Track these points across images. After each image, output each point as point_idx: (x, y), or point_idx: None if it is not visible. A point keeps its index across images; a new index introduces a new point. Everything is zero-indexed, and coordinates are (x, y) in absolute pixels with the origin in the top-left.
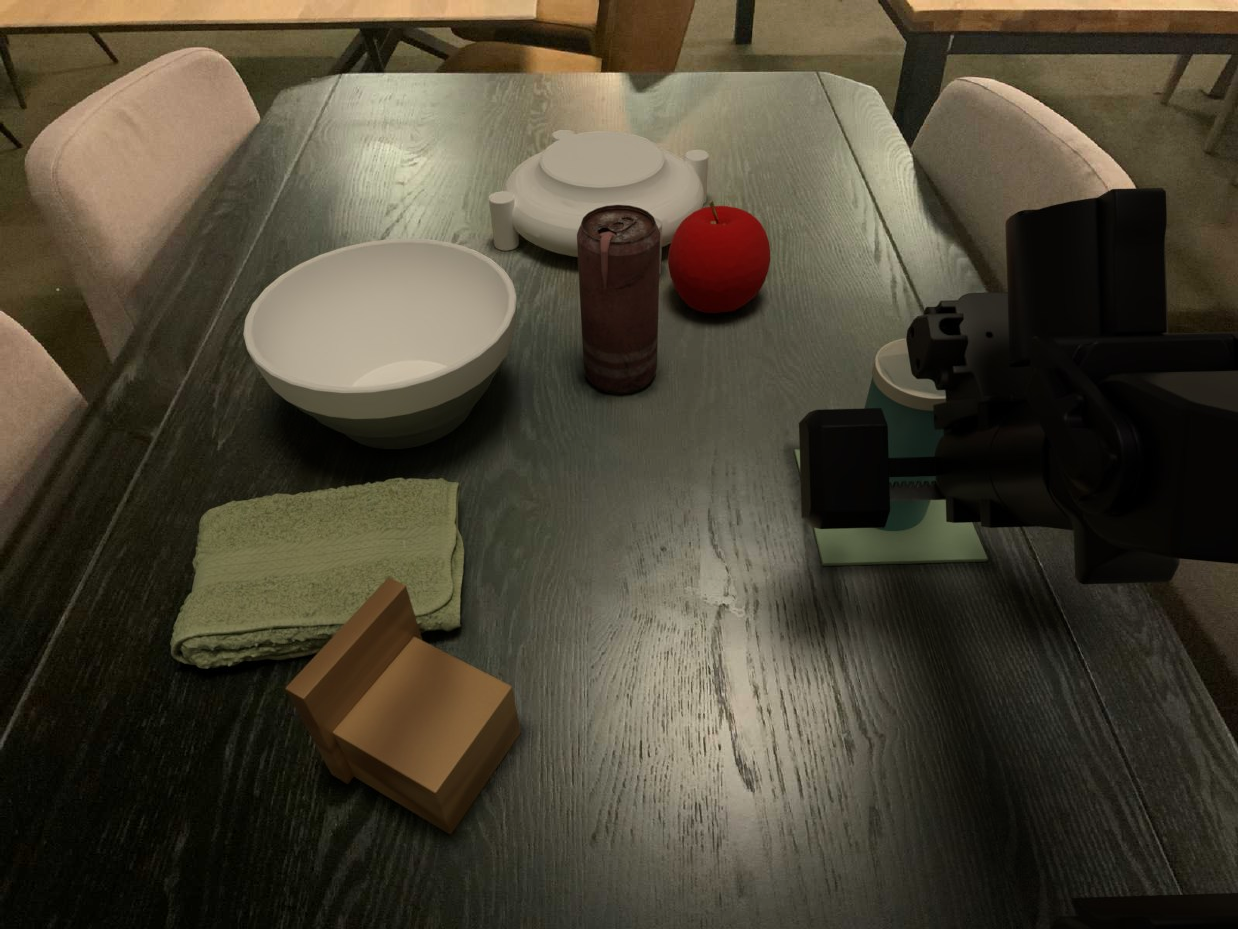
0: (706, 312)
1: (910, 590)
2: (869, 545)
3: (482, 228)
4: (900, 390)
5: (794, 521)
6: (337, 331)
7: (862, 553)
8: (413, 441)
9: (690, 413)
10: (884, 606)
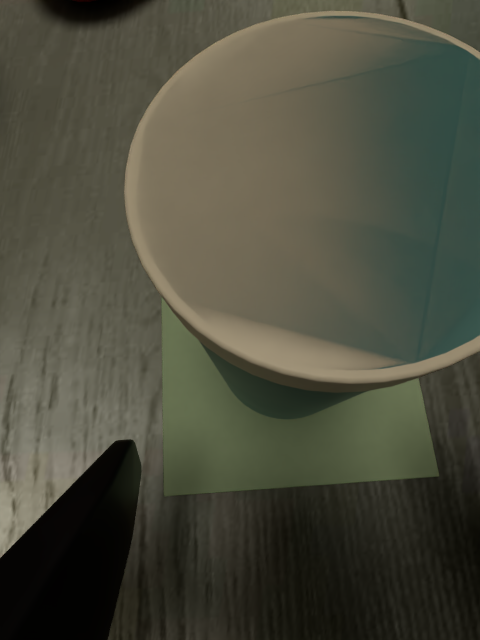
0: (78, 1)
1: (301, 545)
2: (245, 452)
3: None
4: (194, 327)
5: (138, 397)
6: None
7: (231, 471)
8: None
9: (25, 187)
10: (253, 584)
